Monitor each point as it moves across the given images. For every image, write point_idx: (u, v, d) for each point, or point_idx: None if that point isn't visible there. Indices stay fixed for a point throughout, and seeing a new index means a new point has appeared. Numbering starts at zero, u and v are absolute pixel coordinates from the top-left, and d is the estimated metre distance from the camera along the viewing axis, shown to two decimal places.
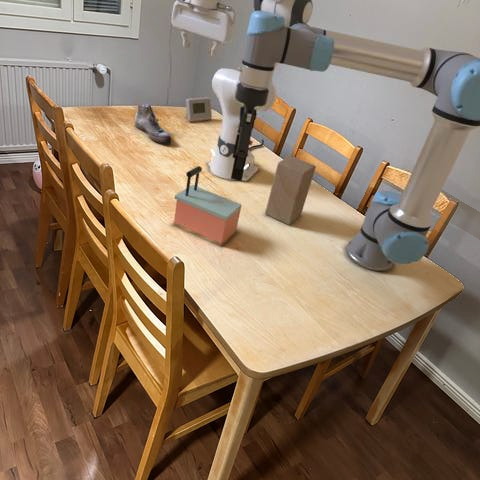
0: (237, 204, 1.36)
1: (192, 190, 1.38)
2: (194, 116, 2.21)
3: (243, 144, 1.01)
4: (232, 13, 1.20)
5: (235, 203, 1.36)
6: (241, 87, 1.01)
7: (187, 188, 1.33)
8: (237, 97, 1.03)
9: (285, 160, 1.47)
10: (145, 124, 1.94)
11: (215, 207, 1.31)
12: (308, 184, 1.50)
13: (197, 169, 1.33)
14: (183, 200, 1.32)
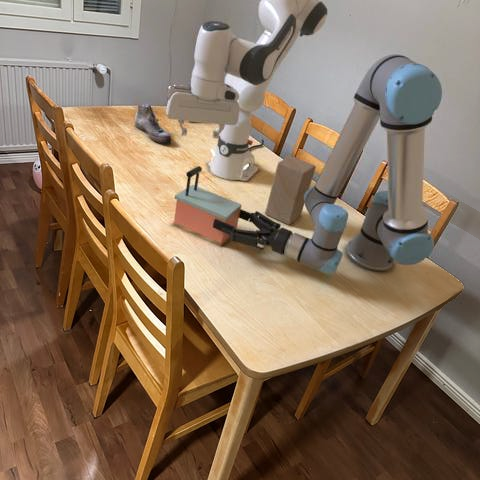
0: (237, 204, 1.36)
1: (192, 190, 1.38)
2: None
3: None
4: None
5: (235, 203, 1.36)
6: None
7: (187, 188, 1.33)
8: None
9: (285, 160, 1.47)
10: (145, 124, 1.94)
11: (215, 207, 1.31)
12: (308, 184, 1.50)
13: (197, 169, 1.33)
14: (183, 200, 1.32)
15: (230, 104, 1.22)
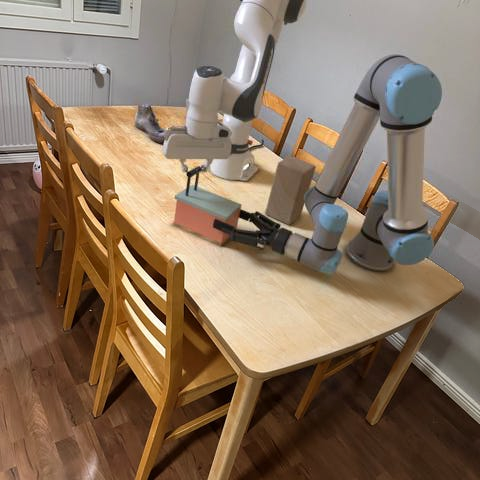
0: (237, 204, 1.36)
1: (192, 190, 1.38)
2: None
3: None
4: None
5: (235, 203, 1.36)
6: None
7: (187, 188, 1.33)
8: None
9: (285, 160, 1.47)
10: (145, 124, 1.94)
11: (215, 207, 1.31)
12: (308, 184, 1.50)
13: (197, 169, 1.33)
14: (183, 200, 1.32)
15: (223, 141, 1.28)
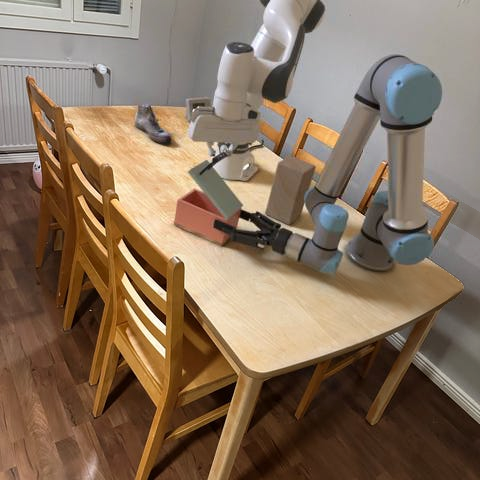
0: (240, 203, 1.35)
1: None
2: None
3: None
4: None
5: (238, 201, 1.35)
6: None
7: (205, 169, 1.27)
8: None
9: (285, 160, 1.47)
10: (145, 124, 1.94)
11: (221, 201, 1.29)
12: (308, 184, 1.50)
13: (223, 156, 1.27)
14: (195, 179, 1.27)
15: (252, 123, 1.22)
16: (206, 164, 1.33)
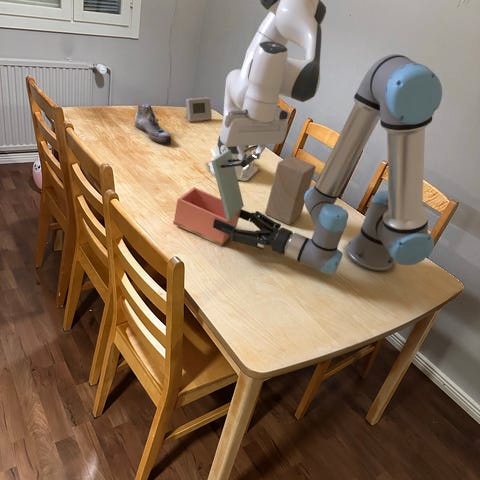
0: (241, 204, 1.35)
1: (227, 160, 1.27)
2: (194, 116, 2.21)
3: None
4: None
5: (241, 201, 1.35)
6: None
7: (228, 166, 1.23)
8: None
9: (285, 160, 1.47)
10: (145, 124, 1.94)
11: (229, 200, 1.28)
12: (308, 184, 1.50)
13: (251, 161, 1.23)
14: (216, 171, 1.22)
15: (281, 124, 1.19)
16: (228, 155, 1.28)
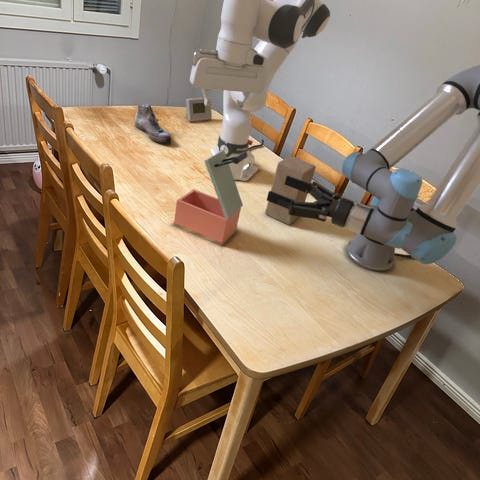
0: (240, 203, 1.35)
1: (221, 160, 1.29)
2: (194, 116, 2.21)
3: None
4: None
5: (240, 201, 1.35)
6: None
7: (222, 164, 1.24)
8: None
9: (285, 160, 1.47)
10: (145, 124, 1.94)
11: (226, 199, 1.29)
12: None
13: (244, 158, 1.24)
14: (210, 170, 1.24)
15: (258, 70, 1.15)
16: (222, 155, 1.30)
